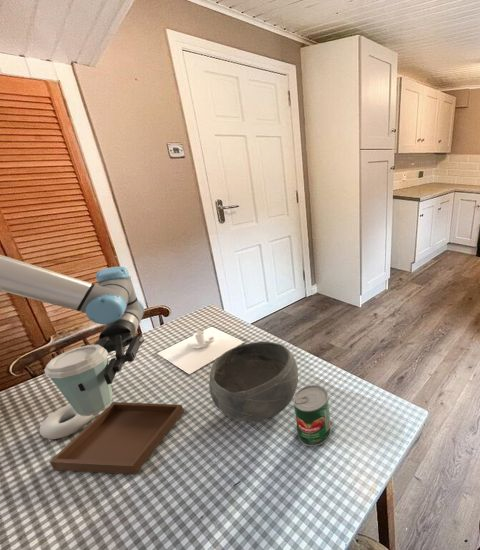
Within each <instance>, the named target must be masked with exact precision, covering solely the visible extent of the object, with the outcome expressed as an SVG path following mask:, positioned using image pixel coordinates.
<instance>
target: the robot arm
mask: <svg viewBox="0 0 480 550" xmlns="http://www.w3.org/2000/svg"><path fill="white" fill-rule="evenodd" d="M95 277H96V283H97V284H95V283H92V282H89V281H85V280H83V279H80V278H76V277H73V276H70V275H67V274H65V273H64V274H63V273H60V272H57V271H54V270H51V269H48V268H45V267H41V266H38V265H35V264H31V263H29V262H25V261H22V260H19V259H16V258H12V257H10V256H6V255H3V254H0V292H4V293H8V294H13V295H16V296H19V297H23V298H28V299H30V300H35V301H39V302H43V303H46V304H51V305H54V306H58V307H62V308H65V309H70V310H73V311H77V312H80V313H83V314H85V316H86V317H87V318H88V319H89V320H90V322H91V321H92V322H93V323H95V324H99V325H104V326H103V328H102V329H101V332H100V333H99V336H98V339H97V340H96V341H95V342H94V343H93V345H100V346H101V347H103V348H104V349H106V350H107V352H108V355H109V354H110V353H111V352H115V354H114V356H115V357H113V358H110V359H109V360H110V361H108V367H107V369H106V371H105V373H104V378H105V380H106V382H107V385H108V384H111V385H112V384H113V382H114V380H115V376H116V375H117V373H118V372H121V370H122V368H123V367H124V365H125V364H126V362H128V363H132V362H134V361H135V359H136V356H137V354H138V352H139V350H140V347H141V345H143V343H145V339H144V336H143V333H141V332H140V333H137V331H138V328H139V326H140V323H141V321H142V320H143V317H144V314H145V305H144V304H143V303H142V302H141V301H140V300H139V299H138V297H137V294H136V291H135V287H134V286H133V285H134V284H133V281H132V276H131V275H130V272H129V270H128V269H127V267H124V266H111V267H105V268H102V269H100V270H98V271H97V272H96V273H95ZM136 333H137V334H136ZM87 345H88V344H82V345H80V347H82V346H87ZM126 348H127V349H126ZM78 386H79V389H80V391H85V388H84V386H83V384H82V383H81V384H79V385H78Z"/></svg>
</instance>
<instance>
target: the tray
mask: <svg viewBox="0 0 480 550" xmlns="http://www.w3.org/2000/svg"><path fill="white" fill-rule="evenodd" d="M184 413H185V411H184V408H183V405H182V404H174V403H173V404H172V403H171V404H170V403H148V402H121V401H113V402H111V404H110V405H109V406H108V407H107V408H105V409H104V410H103V411H101V413H100V414H99V415H98V416H97V417H96V418H95V419H94V420H93V421H91V422H90V423H89V424H87V426H86V427H85V428H84V429H83V430H82V431H81V432H80V433H78V434H77V435H76V436H75V437H74V438H73V439H72V440H71V441H69V442H68V444H66V446H64V447H63V448H62V449H61V450H60V451H59V452H58V453H57V454H56V455H55V456H54V457H52V459H50V460H49V461H48V462H49V464H50V466H51V467H52V469H53V471H64V472H65V471H67V472H84V473H85V472H86V473H104V474H120V475H122V474H123V475H137V474H138V473H139V471H140V470H141V469H142V468H143V466H144V465H145V464H146V462H147V461H148V459H149V458H150V457H151V456H152V454H153V453H154V452H155V450H156V449H157V448H158V446H159V445H160V444H161V443H162V441H163V440H164V439H165V438H166V436H167V435H168V434H169V432H170V431H171V430H172V428H174V426H175V425H176V423H177V422H178V421H179V419H180V418H181V417H182V416H183V414H184Z"/></svg>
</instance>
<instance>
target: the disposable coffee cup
mask: <svg viewBox="0 0 480 550" xmlns="http://www.w3.org/2000/svg"><path fill="white" fill-rule="evenodd" d="M86 345H87V346H82V345H81V346H82V347H81V346H79V347H75V348H72V349H69V350H67V351H65V352H62V353H60V354H58V355H56V356H54V357H53V358H52V359H51V360H49V362H48V363H47V364H46V366H45V368H44V369H43V370H44V375H45V376H46V377H47V378H48V379H50V381H52V382H53V384H54V385H55V387H56V388H57V389H58V391H59V392H60V393H61V394H62V396H63V397H64V398H65V400H66V401H67V402H68V404H69V405H71V406H72V407H73V409H74V410H75V411H76V412H77V413H78V414H80V415H81V416H90V415H93V414H94V415H97V414H98V413H100V412H103V411H105V410H106V409H107V408H108V407H109V406H110V405H111V404H112V401H113V397H114V396H113V390H112V384H108V385H107V382H106V380H105V378H104V373H105V371H106V369H107V367H108V365H109V360H108V355H109V354H108V352H107V350H106V349H104V348H103V347H101V346H100V345H94V344H86ZM81 383H82V384H83V386H84V388H85V391H80V389H79V386H78V385H79V384H81ZM94 415H93V416H94Z"/></svg>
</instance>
